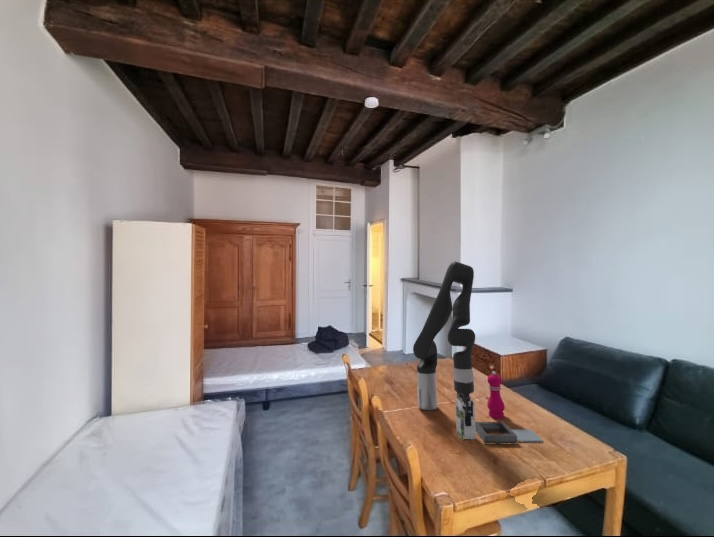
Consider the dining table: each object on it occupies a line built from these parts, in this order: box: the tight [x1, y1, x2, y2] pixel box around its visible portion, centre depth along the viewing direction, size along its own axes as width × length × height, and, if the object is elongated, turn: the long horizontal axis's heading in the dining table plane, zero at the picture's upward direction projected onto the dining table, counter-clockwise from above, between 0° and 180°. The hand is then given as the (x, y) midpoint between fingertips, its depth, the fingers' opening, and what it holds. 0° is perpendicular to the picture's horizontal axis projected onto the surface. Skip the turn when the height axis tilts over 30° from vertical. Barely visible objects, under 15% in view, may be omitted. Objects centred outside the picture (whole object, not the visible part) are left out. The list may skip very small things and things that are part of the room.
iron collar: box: [475, 421, 518, 445], centre depth 120 cm, size 12×12×3 cm
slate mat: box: [511, 429, 544, 443], centre depth 119 cm, size 9×9×1 cm
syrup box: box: [455, 396, 477, 441], centre depth 121 cm, size 6×6×14 cm
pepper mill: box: [486, 370, 506, 420], centre depth 139 cm, size 7×7×20 cm
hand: (465, 421), depth 121 cm, fingers closed on syrup box, 6 cm apart
